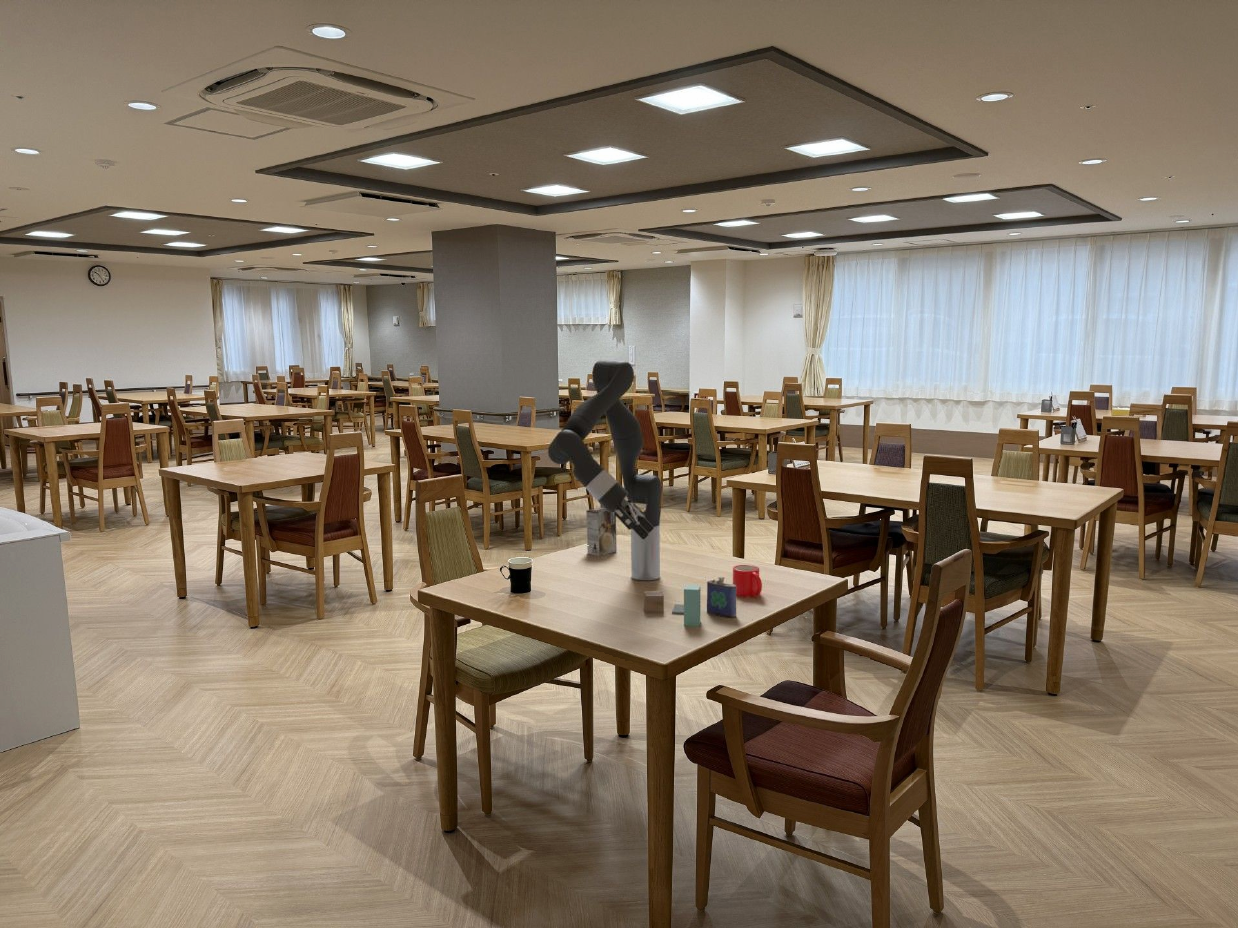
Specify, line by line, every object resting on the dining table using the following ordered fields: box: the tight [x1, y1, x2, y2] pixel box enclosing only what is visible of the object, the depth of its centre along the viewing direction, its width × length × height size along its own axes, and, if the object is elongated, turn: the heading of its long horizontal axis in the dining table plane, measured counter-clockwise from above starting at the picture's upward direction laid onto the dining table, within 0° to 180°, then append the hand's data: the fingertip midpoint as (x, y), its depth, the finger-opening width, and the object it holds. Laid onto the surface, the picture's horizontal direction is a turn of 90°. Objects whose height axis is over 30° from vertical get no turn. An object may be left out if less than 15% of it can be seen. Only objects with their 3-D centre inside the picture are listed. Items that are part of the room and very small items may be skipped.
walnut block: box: [643, 590, 665, 614], centre depth 245 cm, size 5×5×5 cm
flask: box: [706, 576, 737, 619], centre depth 240 cm, size 9×3×11 cm, turn 51°
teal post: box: [683, 584, 701, 627], centre depth 232 cm, size 4×4×10 cm
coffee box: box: [585, 506, 618, 557], centre depth 312 cm, size 9×6×16 cm
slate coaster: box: [671, 603, 684, 615], centre depth 244 cm, size 7×7×1 cm
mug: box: [732, 564, 763, 598], centre depth 258 cm, size 8×12×8 cm, turn 27°
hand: (649, 533), depth 232 cm, fingers open, 8 cm apart
